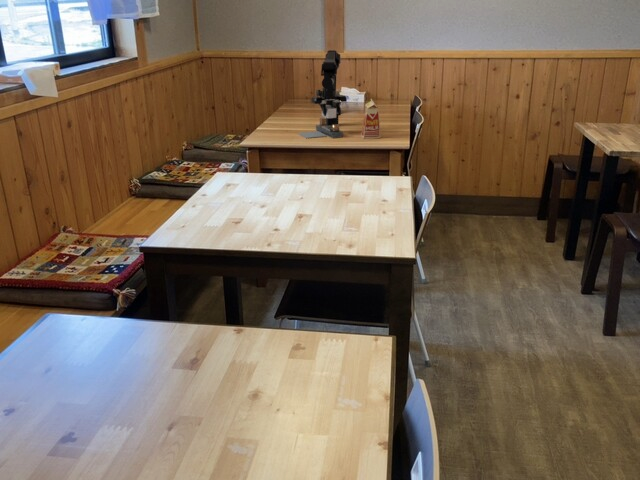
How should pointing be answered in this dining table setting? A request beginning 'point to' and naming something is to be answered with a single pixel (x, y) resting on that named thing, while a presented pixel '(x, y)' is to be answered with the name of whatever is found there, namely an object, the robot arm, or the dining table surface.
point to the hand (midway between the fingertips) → (329, 115)
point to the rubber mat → (312, 134)
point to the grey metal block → (330, 112)
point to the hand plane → (329, 129)
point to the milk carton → (371, 121)
